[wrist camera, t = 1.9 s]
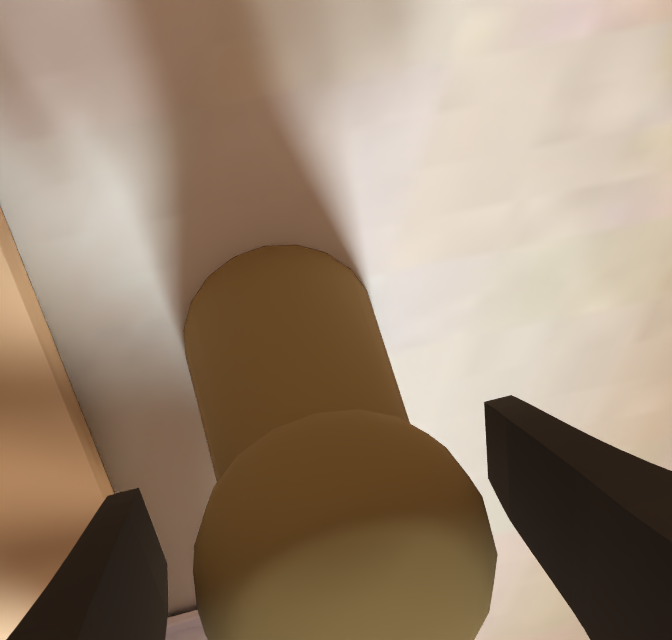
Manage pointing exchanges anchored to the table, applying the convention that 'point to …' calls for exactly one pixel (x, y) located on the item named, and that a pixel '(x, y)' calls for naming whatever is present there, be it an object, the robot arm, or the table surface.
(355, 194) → the table surface
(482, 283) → the table surface
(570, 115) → the table surface
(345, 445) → the cork
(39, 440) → the shelf board
